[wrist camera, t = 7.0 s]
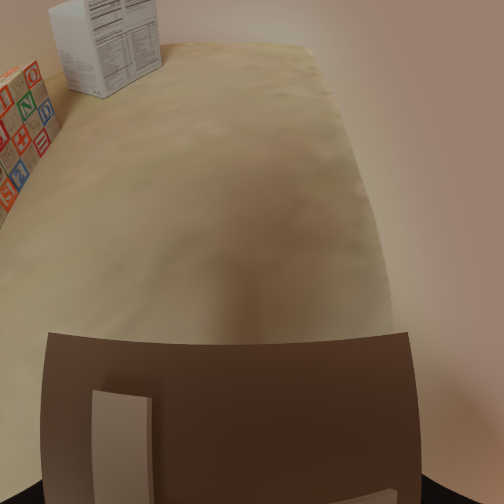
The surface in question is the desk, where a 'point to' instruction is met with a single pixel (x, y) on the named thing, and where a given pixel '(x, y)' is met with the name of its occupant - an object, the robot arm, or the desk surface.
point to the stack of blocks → (22, 129)
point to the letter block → (230, 422)
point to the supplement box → (106, 43)
